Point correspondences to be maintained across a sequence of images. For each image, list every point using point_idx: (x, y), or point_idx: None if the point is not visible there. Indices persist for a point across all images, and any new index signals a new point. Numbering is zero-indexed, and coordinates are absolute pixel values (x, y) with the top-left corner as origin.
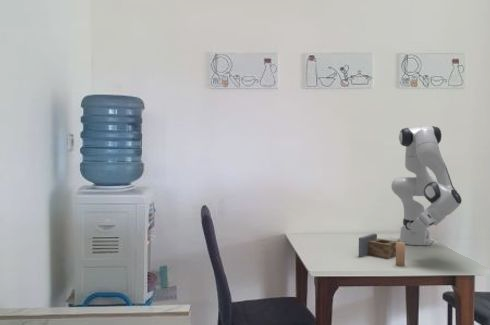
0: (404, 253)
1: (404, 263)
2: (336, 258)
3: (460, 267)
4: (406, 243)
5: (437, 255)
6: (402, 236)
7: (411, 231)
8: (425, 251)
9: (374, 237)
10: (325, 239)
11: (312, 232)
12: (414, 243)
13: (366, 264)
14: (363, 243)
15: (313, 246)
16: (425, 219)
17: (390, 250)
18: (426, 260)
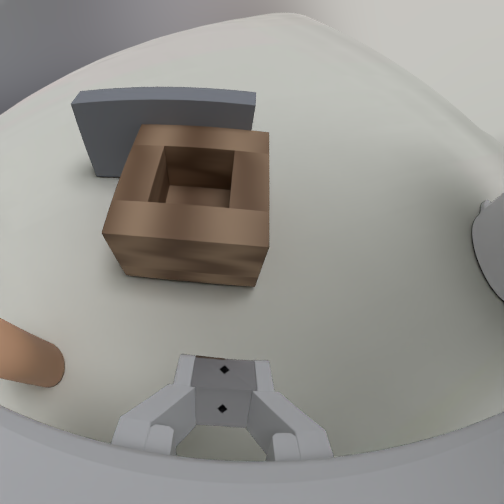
0: (2, 378)
1: (38, 385)
2: (62, 126)
3: None
4: (475, 242)
5: None
6: (493, 209)
7: (177, 376)
8: (445, 361)
9: (219, 116)
10: (298, 49)
11: (339, 33)
12: (489, 271)
13: (13, 228)
14: (89, 126)
15: (188, 48)
16: None
17: (142, 257)
18: (264, 460)
